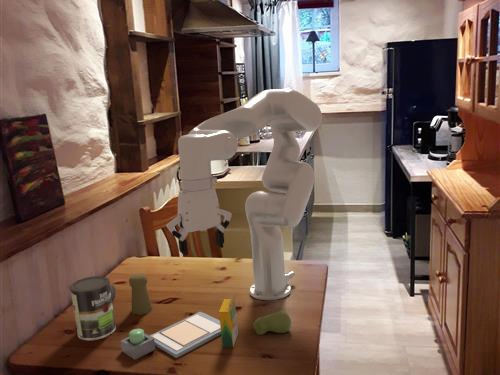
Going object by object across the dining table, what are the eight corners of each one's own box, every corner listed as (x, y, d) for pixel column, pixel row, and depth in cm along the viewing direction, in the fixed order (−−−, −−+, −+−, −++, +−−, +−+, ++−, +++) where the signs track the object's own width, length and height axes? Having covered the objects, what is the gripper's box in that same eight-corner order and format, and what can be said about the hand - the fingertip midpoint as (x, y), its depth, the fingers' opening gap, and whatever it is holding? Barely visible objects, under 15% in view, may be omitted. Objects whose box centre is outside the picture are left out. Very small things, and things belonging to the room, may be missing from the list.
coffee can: (124, 326, 141) (117, 279, 137) (95, 344, 132) (87, 294, 129) (98, 319, 146) (91, 273, 143) (69, 335, 138) (61, 287, 134)
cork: (147, 315, 146) (143, 279, 144) (128, 314, 148) (123, 279, 145) (155, 305, 152) (151, 271, 150) (136, 305, 153) (132, 271, 151)
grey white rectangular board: (200, 314, 144) (200, 310, 144) (231, 329, 135) (230, 324, 135) (146, 340, 132) (146, 336, 132) (176, 358, 123) (175, 353, 123)
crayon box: (227, 332, 133) (223, 291, 130) (238, 332, 133) (234, 291, 130) (221, 347, 126) (217, 304, 123) (233, 347, 126) (229, 304, 123)
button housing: (142, 341, 132) (141, 331, 131) (155, 349, 127) (154, 338, 127) (122, 351, 128) (120, 340, 127) (134, 359, 124) (133, 348, 123)
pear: (288, 316, 128) (250, 323, 129) (292, 335, 129) (254, 341, 131) (289, 306, 133) (252, 312, 135) (293, 324, 134) (257, 330, 136)
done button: (140, 339, 130) (138, 327, 129) (148, 344, 127) (146, 331, 126) (127, 345, 127) (126, 332, 127) (135, 350, 125) (133, 337, 124)
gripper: (222, 177, 132) (226, 240, 136) (158, 187, 125) (165, 253, 128) (235, 181, 126) (239, 247, 129) (168, 192, 118) (175, 261, 122)
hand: (202, 250), depth 129 cm, fingers open, 9 cm apart
